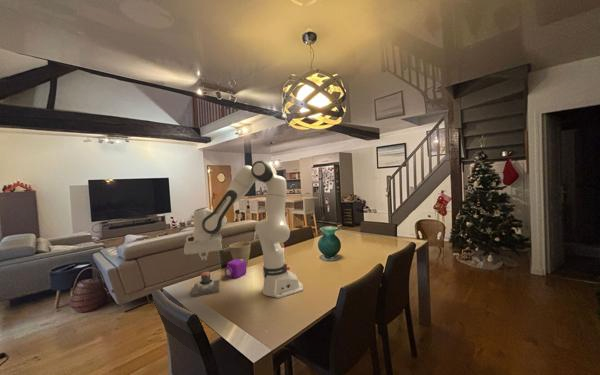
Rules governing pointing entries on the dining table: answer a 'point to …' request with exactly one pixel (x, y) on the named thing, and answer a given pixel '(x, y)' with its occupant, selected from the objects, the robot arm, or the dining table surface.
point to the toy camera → (235, 268)
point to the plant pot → (240, 251)
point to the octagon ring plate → (205, 288)
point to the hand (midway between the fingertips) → (204, 259)
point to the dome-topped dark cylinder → (205, 277)
